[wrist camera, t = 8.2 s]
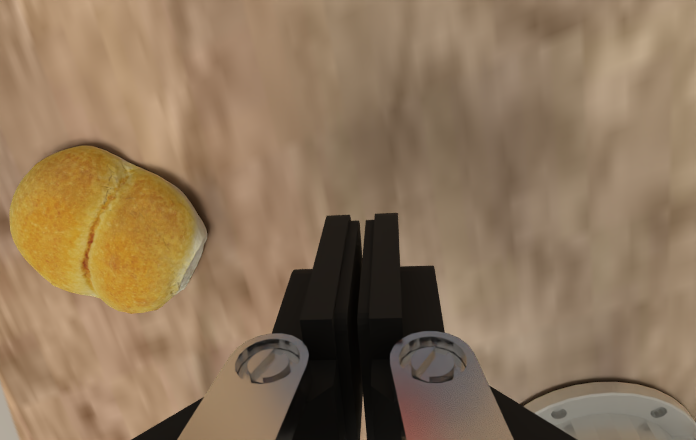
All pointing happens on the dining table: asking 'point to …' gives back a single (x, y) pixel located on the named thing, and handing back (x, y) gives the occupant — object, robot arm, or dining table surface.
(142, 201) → the bread roll
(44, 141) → the dining table surface
